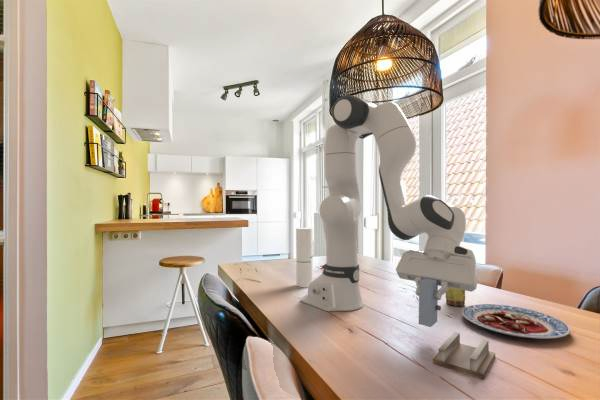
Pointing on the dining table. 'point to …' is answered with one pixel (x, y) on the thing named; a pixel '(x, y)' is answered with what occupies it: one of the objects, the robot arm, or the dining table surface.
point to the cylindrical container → (304, 256)
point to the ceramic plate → (516, 321)
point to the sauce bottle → (455, 297)
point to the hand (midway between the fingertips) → (427, 296)
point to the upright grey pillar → (428, 302)
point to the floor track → (465, 356)
